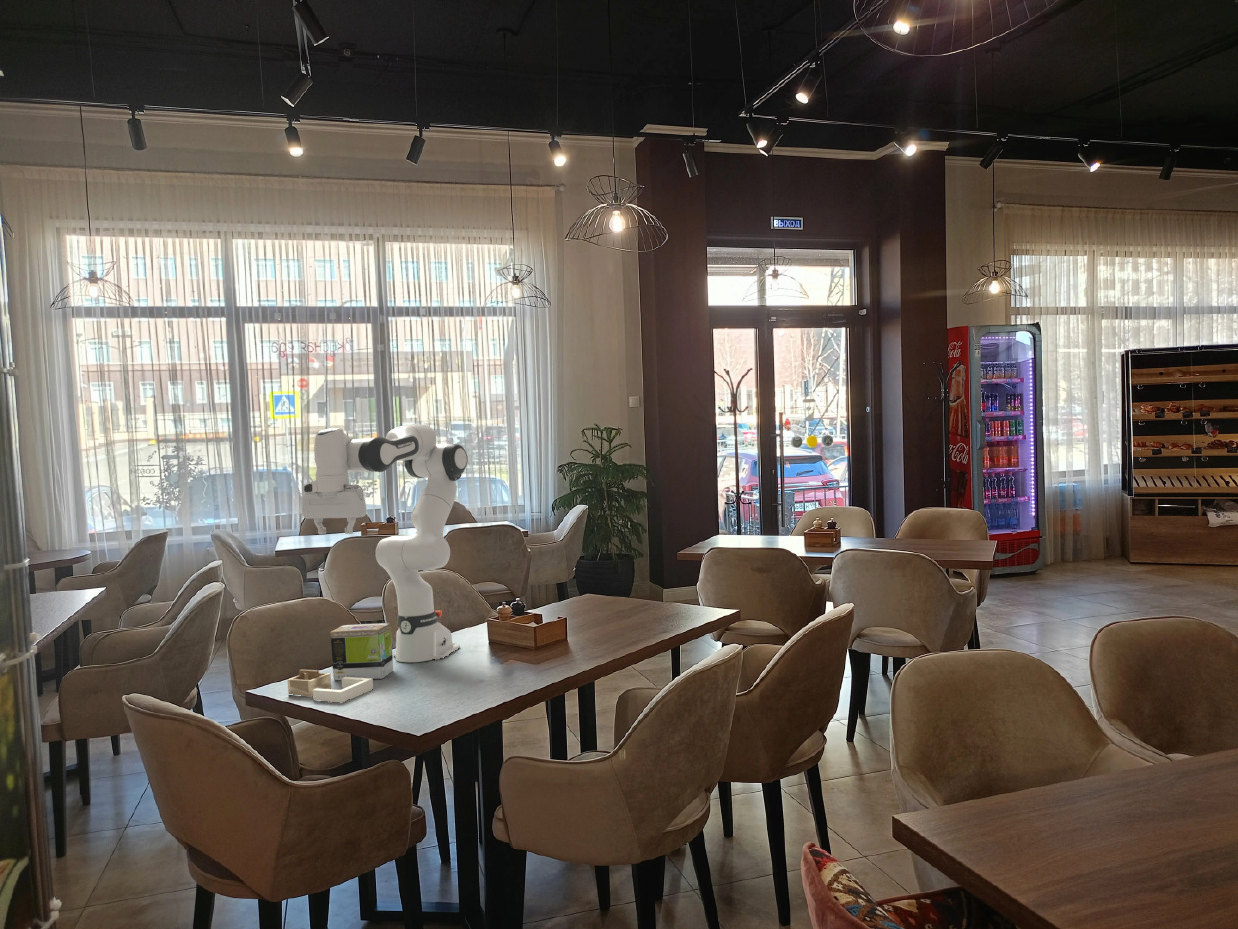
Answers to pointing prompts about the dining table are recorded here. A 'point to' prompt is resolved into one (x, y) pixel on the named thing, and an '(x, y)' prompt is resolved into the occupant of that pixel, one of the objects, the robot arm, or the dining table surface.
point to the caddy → (308, 682)
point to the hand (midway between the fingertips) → (335, 533)
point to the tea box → (362, 651)
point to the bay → (345, 690)
